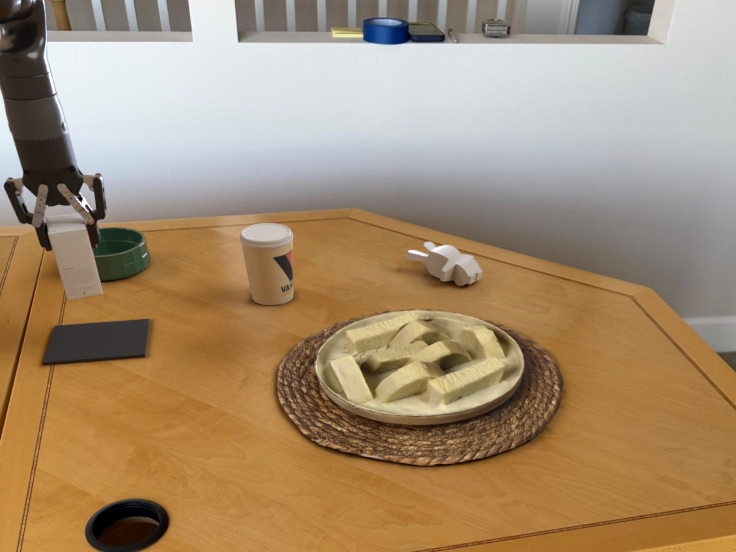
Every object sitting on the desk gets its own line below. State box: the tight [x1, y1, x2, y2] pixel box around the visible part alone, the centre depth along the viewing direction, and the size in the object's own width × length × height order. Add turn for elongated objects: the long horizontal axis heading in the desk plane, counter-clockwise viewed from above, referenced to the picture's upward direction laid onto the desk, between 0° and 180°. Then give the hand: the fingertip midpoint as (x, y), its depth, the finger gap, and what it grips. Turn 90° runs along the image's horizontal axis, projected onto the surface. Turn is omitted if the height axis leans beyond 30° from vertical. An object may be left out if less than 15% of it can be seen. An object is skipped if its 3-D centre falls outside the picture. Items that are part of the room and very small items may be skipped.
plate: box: [276, 308, 564, 467], centre depth 120 cm, size 45×45×7 cm
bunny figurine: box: [405, 241, 484, 287], centre depth 150 cm, size 10×5×15 cm
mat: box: [42, 318, 151, 366], centre depth 130 cm, size 16×13×1 cm
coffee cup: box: [239, 222, 294, 306], centre depth 140 cm, size 9×9×12 cm
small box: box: [44, 212, 104, 301], centre depth 121 cm, size 8×6×10 cm
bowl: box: [92, 226, 151, 282], centre depth 152 cm, size 15×15×5 cm
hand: (72, 247), depth 120 cm, fingers closed on small box, 6 cm apart
